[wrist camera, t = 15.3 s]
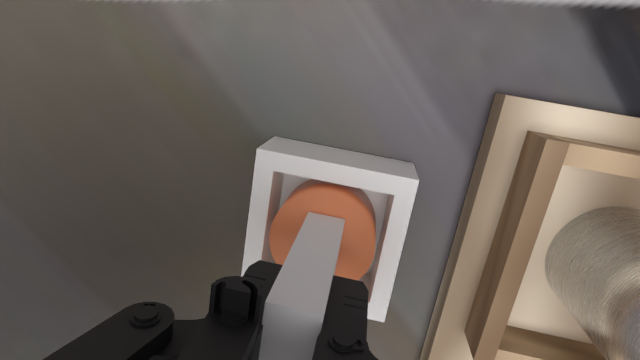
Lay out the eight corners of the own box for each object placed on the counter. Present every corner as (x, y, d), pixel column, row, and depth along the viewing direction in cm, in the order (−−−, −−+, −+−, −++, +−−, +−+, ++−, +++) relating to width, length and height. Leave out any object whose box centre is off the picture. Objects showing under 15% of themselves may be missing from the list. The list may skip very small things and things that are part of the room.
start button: (277, 253, 20) (262, 278, 18) (289, 167, 19) (276, 182, 16) (365, 272, 20) (363, 301, 17) (384, 186, 18) (385, 204, 16)
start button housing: (258, 259, 21) (239, 289, 19) (274, 136, 19) (256, 148, 17) (383, 287, 21) (384, 322, 18) (413, 162, 19) (419, 180, 16)
